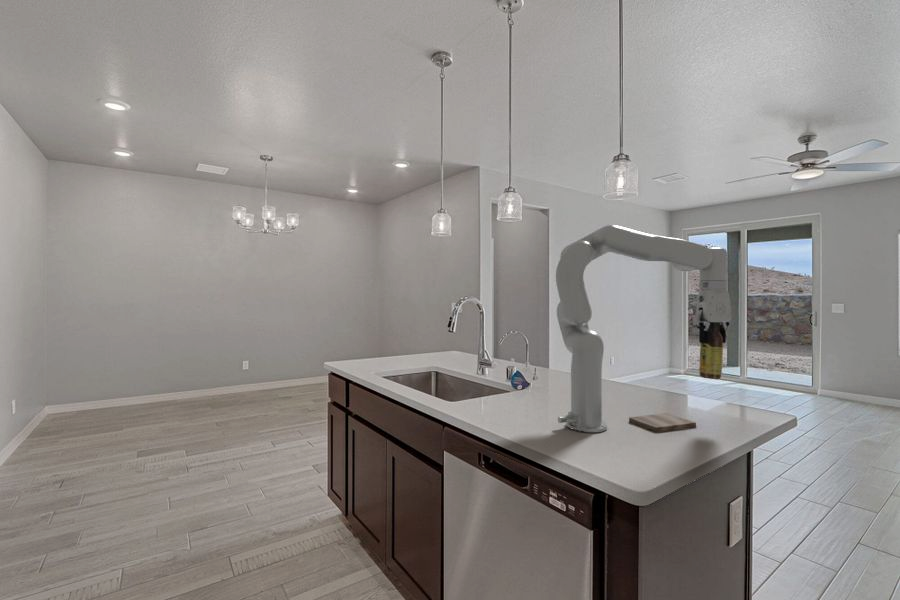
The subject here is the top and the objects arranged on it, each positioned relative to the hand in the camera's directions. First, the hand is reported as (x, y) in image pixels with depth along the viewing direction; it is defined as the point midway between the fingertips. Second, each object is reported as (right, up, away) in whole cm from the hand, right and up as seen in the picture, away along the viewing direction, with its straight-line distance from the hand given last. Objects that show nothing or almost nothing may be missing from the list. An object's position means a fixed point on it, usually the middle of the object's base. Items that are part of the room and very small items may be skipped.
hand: (712, 342), depth 140 cm
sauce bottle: (0, -12, 0) cm, 12 cm away
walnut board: (-14, -27, +4) cm, 31 cm away
